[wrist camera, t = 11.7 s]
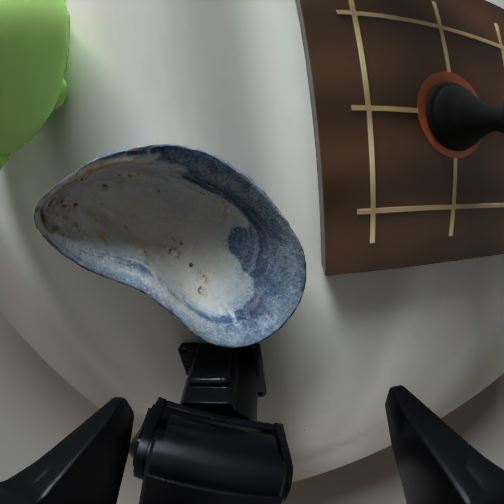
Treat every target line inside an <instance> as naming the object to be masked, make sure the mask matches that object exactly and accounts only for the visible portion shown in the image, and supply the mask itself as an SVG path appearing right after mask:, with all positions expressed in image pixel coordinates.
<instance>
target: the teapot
mask: <svg viewBox="0 0 504 504" xmlns="http://www.w3.org/2000/svg"><path fill="white" fill-rule="evenodd" d="M68 51H69V12H68V10H67V5H66V0H0V169H1V168H2V167H3V166H4V165H5V164H6V163H7V162H8V161H9V155H10V154H12V153H13V152H15V151H16V150H18V149H19V148H21V147H22V146H23V145H25V144H26V143H27V142H29V141H30V140H31V139H32V138H33V137H34V136H35V135H36V134H37V132H38V131H39V130H40V129H41V128H42V126H43V125H44V124H45V122H46V121H47V119H48V118H49V116H50V114H51V113H52V111H53V110H56V109H58V108H59V107H60V106H61V105H62V104H63V103H64V101H65V99H66V96H67V92H68V87H67V83H66V81H65V80H64V79H63V78H64V74H65V69H66V64H67V58H68Z"/></svg>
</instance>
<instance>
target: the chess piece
mask: <svg viewBox="0 0 504 504" xmlns="http://www.w3.org/2000/svg"><path fill="white" fill-rule="evenodd" d="M426 118H427V123H428V126H429V128H430V130H431V132H432V134H433V136H434V137H435V139H436V140H437V141H438V142H439V143H440V144H441V145H442V146H444V147H445V148H447V149H449V150H452V151H464V150H467V149H469V148H470V147H472V146H474V145H475V144H477V143H478V142H479V141H480V139H482V138H484V137H485V136H486V135H487V134H489V133H491V132H501V133H504V103H503V104H502V105H499V106H493V105H489V104H487V103H485V102H484V101H483V100H481V99H480V98H478V97H477V96H475V95H474V94H473V93H472V92H471V91H470V90H468V89H466V88H465V87H463V86H461V85H459V84H457V83H454V82H443V83H440V84H438V85H436V86H435V87H434V88H433V89H432V90H431V92H430V93H429V95H428V98H427V101H426Z"/></svg>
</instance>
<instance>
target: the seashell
mask: <svg viewBox="0 0 504 504" xmlns="http://www.w3.org/2000/svg"><path fill="white" fill-rule="evenodd" d="M34 222H35V225H36V228H37V229H38V230H39V231H40V233H41V234H42V236H43V237H44V238H45V239H46V240H47V241H48V242H49V243H50V244H51V245H52V246H53V247H54V248H55V249H56V250H58V251H59V252H60V253H61V254H63V255H64V256H65V257H67V258H68V259H70V260H71V261H73V262H74V263H76V264H77V265H79V266H81V267H82V268H84V269H86V270H88V271H91V272H93V273H95V274H98V275H100V276H103V277H106V278H109V279H112V280H115V281H117V282H119V283H122V284H124V285H127V286H130V287H132V288H135V289H137V290H139V291H140V292H142V293H144V294H146V295H148V296H150V297H152V298H153V299H154V300H155V301H156V302H157V303H158V304H160V305H161V306H162V307H164V308H165V309H166V310H167V311H168V312H170V313H171V314H172V315H173V316H175V317H176V318H177V319H178V320H179V321H180V322H181V323H182V324H183V325H184V326H185V327H186V328H187V329H188V330H189V331H190V332H191V333H193V334H195V335H196V336H198V337H200V338H201V339H203V340H205V341H207V342H209V343H211V344H214V345H218V346H223V347H230V348H236V347H245V346H250V345H253V344H256V343H258V342H261V341H263V340H265V339H267V338H268V337H270V336H271V335H273V334H274V333H275V332H276V331H278V330H279V329H280V328H281V327H282V326H283V325H284V324H285V323H286V322H287V320H288V319H289V318H290V317H291V316H292V314H293V313H294V312H295V310H296V307H297V306H298V304H299V303H300V301H301V298H302V295H303V292H304V288H305V282H306V262H305V256H304V252H303V249H302V247H301V244H300V242H299V240H298V238H297V236H296V235H295V234H294V232H293V230H292V229H291V227H290V225H289V223H288V221H287V220H286V219H285V218H284V216H283V215H282V214H281V213H280V211H279V210H278V208H277V207H276V206H275V204H274V203H273V202H272V201H271V199H270V198H269V197H268V196H267V195H266V193H265V192H264V191H263V190H262V189H261V188H260V187H258V185H257V184H256V183H255V182H254V181H253V180H252V179H251V178H250V177H248V176H247V175H245V174H243V173H240V172H239V171H237V170H236V169H235V168H234V167H233V166H231V165H230V164H229V163H227V162H226V161H224V160H222V159H221V158H219V157H217V156H215V155H213V154H210V153H208V152H205V151H202V150H200V149H195V148H190V147H186V146H182V145H173V144H156V145H148V146H141V147H136V148H132V149H129V150H124V151H118V152H114V153H110V154H107V155H104V156H101V157H99V158H97V159H95V160H93V161H91V162H89V163H86V164H84V165H83V166H81V167H79V168H78V169H77V170H76V171H74V172H73V173H72V174H70V175H69V176H67V177H66V178H64V179H63V180H61V181H60V182H58V183H57V184H56V185H55V186H54V187H53V188H52V189H51V190H49V191H48V192H47V193H46V194H45V195H44V196H43V197H42V198H41V199H40V200H39V201H38V203H37V205H36V206H35V211H34Z"/></svg>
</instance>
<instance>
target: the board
mask: <svg viewBox="0 0 504 504" xmlns="http://www.w3.org/2000/svg"><path fill="white" fill-rule="evenodd" d="M296 5H297V10H298V16H299V21H300V27H301V33H302V39H303V46H304V52H305V59H306V66H307V73H308V81H309V89H310V97H311V106H312V115H313V124H314V135H315V146H316V158H317V171H318V186H319V203H320V224H321V256H322V267H323V270H324V273H325V275H326V276H328V275H338V274H348V273H357V272H367V271H376V270H385V269H393V268H402V267H410V266H418V265H426V264H434V263H442V262H449V261H457V260H464V259H471V258H478V257H485V256H492V255H498V254H504V133H501V132H491V133H489V134H487V135H486V136H485V137H484V138H482V139H480V141H479V142H478V143H477V144H475V145H474V146H472V147H470V148H469V149H467V150H464V151H452V150H449V149H447V148H445V147H444V146H442V145H441V144H440V143H439V142H438V141H437V140H436V139H435V137H434V136H433V134H432V132H431V130H430V128H429V126H428V123H427V118H426V101H427V98H428V95H429V93H430V92H431V90H432V89H433V88H434V87H435V86H436V85H438V84H440V83H443V82H454V83H457V84H459V85H461V86H463V87H465V88H466V89H468V90H470V91H471V92H472V93H473V94H474V95H475V96H477V97H478V98H480V99H481V100H483V101H484V102H485V103H487V104H489V105H493V106H499V105H502V104H503V103H504V9H502V8H500V7H498V6H496V5H494V4H492V3H490V2H488V1H485V0H296Z"/></svg>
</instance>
